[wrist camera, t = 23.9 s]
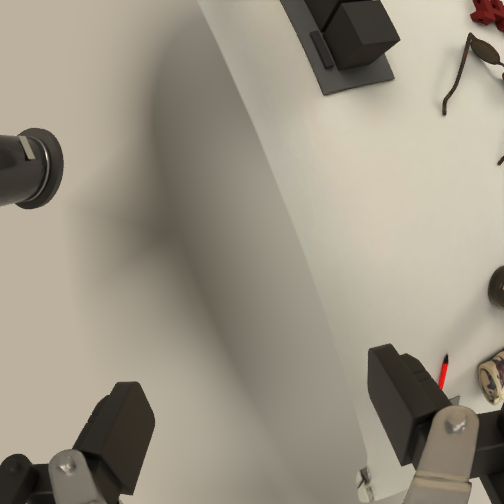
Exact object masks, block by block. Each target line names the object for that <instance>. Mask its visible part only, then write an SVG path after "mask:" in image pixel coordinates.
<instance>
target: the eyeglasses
mask: <svg viewBox="0 0 504 504" xmlns="http://www.w3.org/2000/svg"><path fill="white" fill-rule="evenodd" d="M471 40H472V41H471ZM470 42H471V43H470ZM469 46H471V49H472V50H473V52H474V53H475V54H476V55H477V56H478V57H479V58H480V59H482V60H483V61H485V62H487V63H490V64H493V65H496V64H498V65H502V66H503V67H504V64H503V63H501V62H500V56H499V54H498V52H497V51H496V50H495V49H494V48H493V47H492V46H491V45H490V44H488V43H487V42H485V41H482V40H480V39H477V38H476V37H475V36H474V35H473V34H472V33H469V34H468V37H467V41H466V45H465V49H464V53H463V57H462V61H461V65H460V68H459V72H458V75H457V78H456V81H455V84H454V86H453V88H452V89H451V91H450V92H449V93H448V94H447V96H446V97H445V98H444V100H443V115H446V104H447V101H448V99H449V98H450V97H451V95H452V94H453V93H454V91H455V90H456V88H457V86H458V83H459V80H460V77H461V74H462V71H463V68H464V64H465V61H466V57H467V54H468V50H469ZM502 77H503V79H504V73H503V74H502ZM503 161H504V156H503V157H502V158H501V159H500V161H499V162H498V165H501V164H502V162H503Z"/></svg>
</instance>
